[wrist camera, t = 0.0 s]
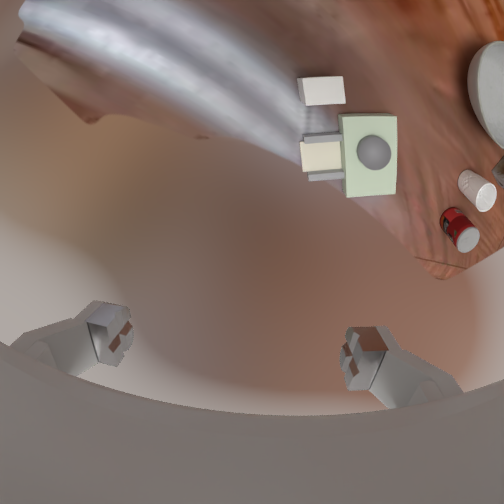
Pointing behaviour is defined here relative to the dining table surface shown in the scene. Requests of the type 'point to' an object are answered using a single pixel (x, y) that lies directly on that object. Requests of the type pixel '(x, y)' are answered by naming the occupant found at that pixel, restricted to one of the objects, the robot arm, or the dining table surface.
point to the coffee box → (499, 172)
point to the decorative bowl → (488, 89)
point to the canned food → (459, 229)
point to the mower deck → (355, 154)
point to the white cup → (477, 190)
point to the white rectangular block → (321, 90)
